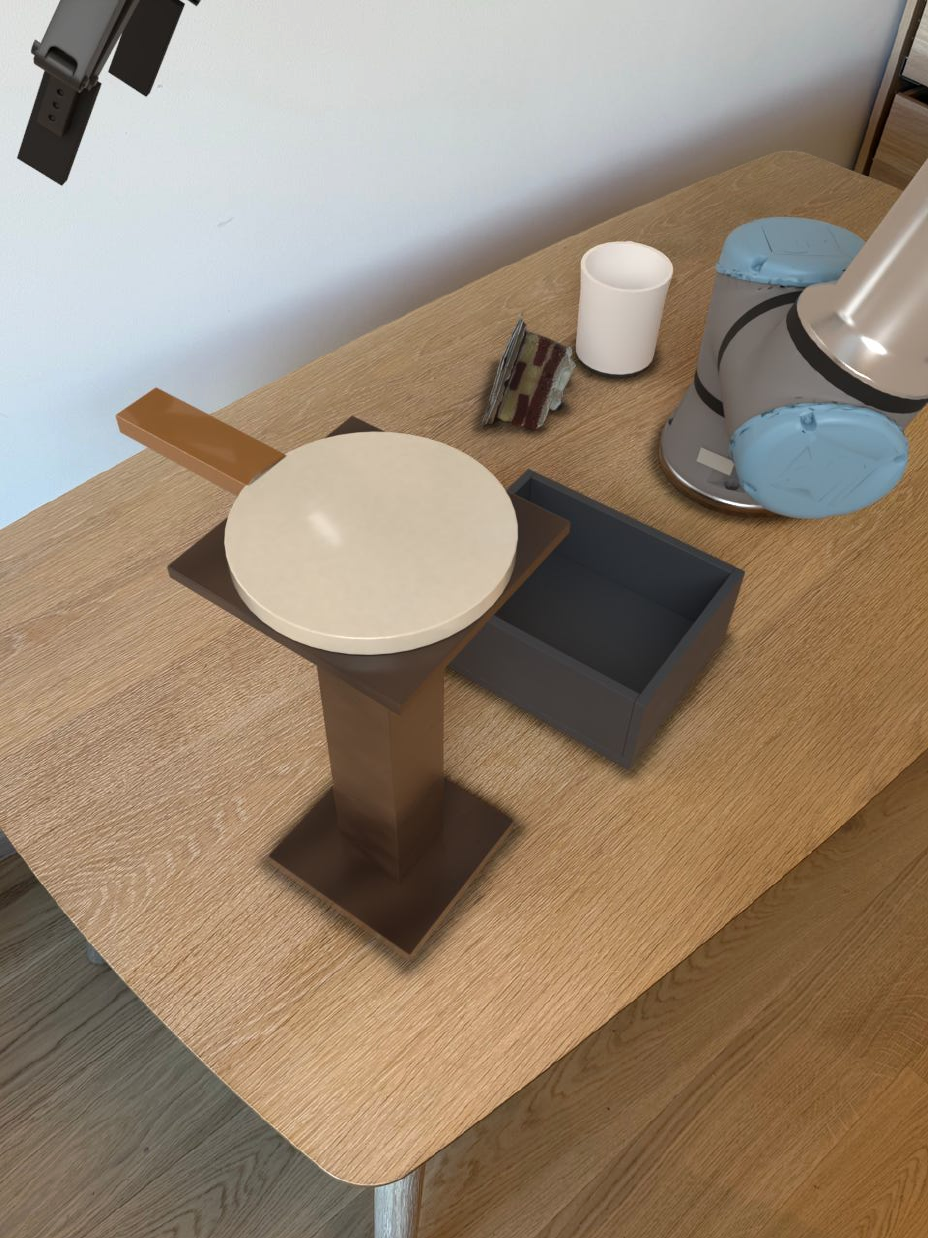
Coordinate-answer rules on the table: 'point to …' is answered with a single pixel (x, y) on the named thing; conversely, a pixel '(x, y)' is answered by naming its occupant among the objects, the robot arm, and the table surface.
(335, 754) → the stand
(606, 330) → the mug
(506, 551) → the round paddle with handle
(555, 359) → the chocolate cake
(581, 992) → the table surface
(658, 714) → the tub
